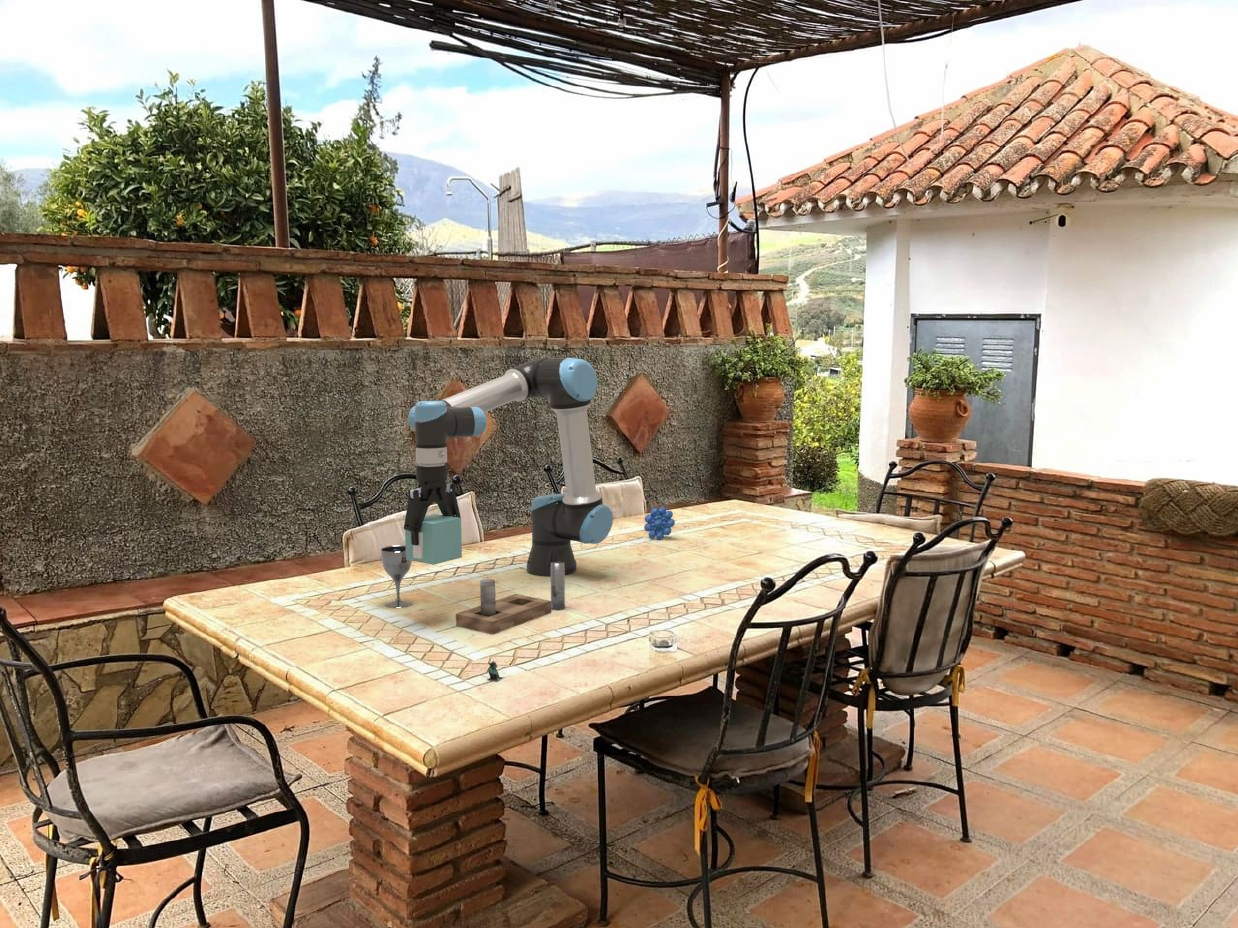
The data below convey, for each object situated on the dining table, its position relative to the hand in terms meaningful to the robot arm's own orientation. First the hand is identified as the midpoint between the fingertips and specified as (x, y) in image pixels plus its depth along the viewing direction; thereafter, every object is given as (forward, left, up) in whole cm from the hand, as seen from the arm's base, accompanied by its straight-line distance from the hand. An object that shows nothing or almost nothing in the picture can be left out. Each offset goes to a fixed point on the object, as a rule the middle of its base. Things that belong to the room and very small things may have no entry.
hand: (433, 554), depth 232 cm
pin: (+19, +25, -17) cm, 36 cm away
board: (+14, +10, -17) cm, 24 cm away
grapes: (-5, +113, -17) cm, 114 cm away
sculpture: (+41, -23, -17) cm, 50 cm away
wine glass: (-18, +4, -17) cm, 25 cm away
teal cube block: (0, 0, -1) cm, 1 cm away
